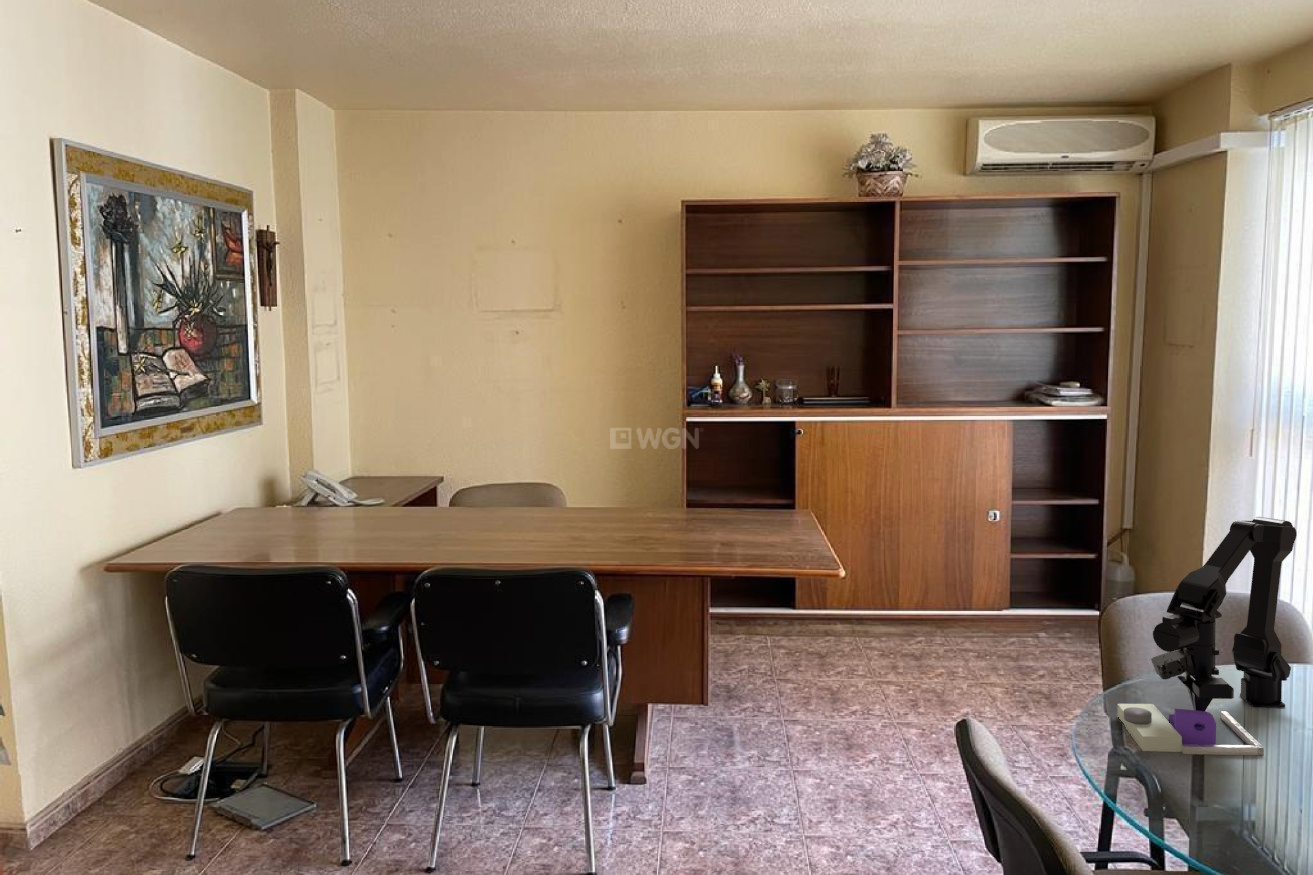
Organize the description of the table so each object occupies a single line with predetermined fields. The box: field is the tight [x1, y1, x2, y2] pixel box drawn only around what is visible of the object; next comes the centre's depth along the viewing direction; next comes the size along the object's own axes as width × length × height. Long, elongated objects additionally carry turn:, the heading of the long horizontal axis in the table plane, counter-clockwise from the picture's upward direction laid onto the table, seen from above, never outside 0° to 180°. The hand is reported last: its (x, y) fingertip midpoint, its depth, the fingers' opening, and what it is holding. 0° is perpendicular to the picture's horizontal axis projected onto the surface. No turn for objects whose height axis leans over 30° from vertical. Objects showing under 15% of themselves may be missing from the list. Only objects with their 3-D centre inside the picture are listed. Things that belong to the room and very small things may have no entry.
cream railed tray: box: [1117, 703, 1265, 756], centre depth 191 cm, size 22×17×4 cm
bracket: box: [1168, 708, 1217, 745], centre depth 191 cm, size 12×7×7 cm, turn 158°
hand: (1198, 715), depth 195 cm, fingers closed
